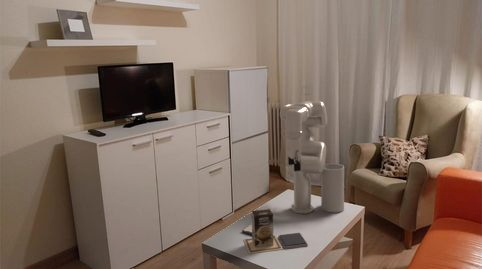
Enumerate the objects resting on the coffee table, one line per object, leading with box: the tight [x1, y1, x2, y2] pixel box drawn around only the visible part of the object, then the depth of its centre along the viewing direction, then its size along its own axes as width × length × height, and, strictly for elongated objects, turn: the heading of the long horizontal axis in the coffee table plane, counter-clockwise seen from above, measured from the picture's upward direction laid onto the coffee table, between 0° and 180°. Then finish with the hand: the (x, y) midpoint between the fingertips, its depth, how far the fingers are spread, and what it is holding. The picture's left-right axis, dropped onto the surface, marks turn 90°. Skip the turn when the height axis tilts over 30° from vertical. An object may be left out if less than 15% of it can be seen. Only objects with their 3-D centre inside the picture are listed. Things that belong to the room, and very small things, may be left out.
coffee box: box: [251, 208, 274, 248], centre depth 175 cm, size 9×6×16 cm
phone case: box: [241, 223, 252, 236], centre depth 192 cm, size 9×2×16 cm
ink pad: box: [277, 232, 309, 250], centre depth 178 cm, size 11×11×2 cm
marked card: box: [243, 234, 284, 255], centre depth 176 cm, size 13×16×1 cm
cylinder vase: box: [320, 163, 345, 213], centre depth 210 cm, size 12×12×25 cm
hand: (294, 167), depth 186 cm, fingers open, 9 cm apart
